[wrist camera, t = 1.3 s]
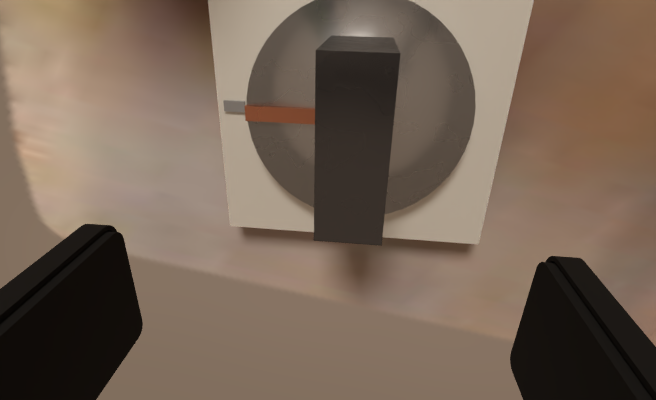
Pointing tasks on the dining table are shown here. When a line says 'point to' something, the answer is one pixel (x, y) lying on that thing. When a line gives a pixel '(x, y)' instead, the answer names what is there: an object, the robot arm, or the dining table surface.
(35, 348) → the robot arm
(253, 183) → the dial base
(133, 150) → the dining table surface
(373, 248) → the dining table surface
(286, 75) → the dial
